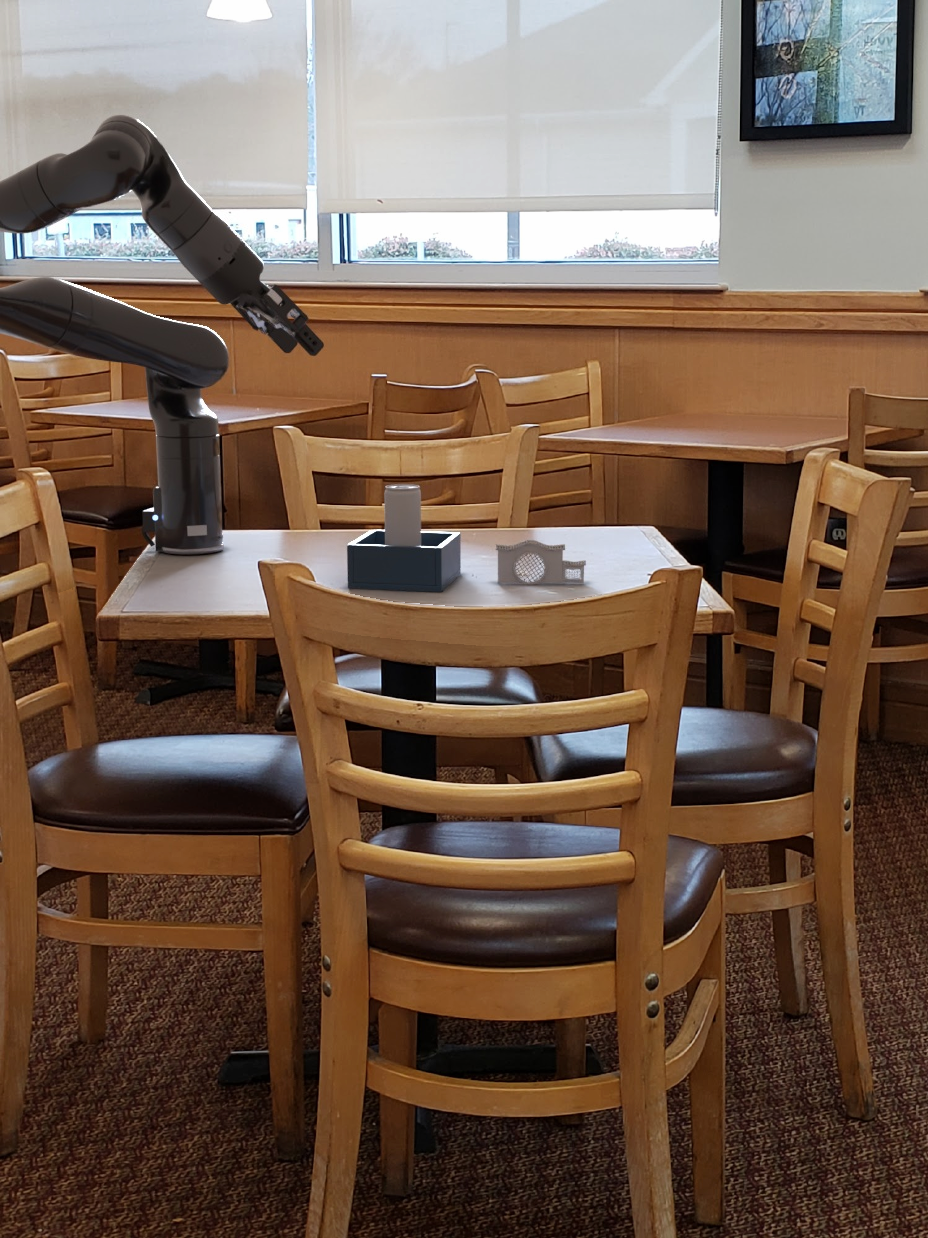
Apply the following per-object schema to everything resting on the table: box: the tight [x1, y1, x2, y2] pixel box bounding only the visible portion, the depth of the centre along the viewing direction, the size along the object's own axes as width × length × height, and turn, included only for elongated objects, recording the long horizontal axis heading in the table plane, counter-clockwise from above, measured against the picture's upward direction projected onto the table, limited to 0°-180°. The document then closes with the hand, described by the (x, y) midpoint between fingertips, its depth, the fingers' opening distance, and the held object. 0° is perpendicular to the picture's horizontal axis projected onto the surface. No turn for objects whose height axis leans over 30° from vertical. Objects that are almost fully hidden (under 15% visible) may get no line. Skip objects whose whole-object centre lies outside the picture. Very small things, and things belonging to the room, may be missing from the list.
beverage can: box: [384, 483, 422, 546], centre depth 196 cm, size 5×5×12 cm
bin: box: [346, 529, 462, 593], centre depth 196 cm, size 13×13×6 cm
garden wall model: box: [495, 539, 587, 586], centre depth 195 cm, size 12×2×6 cm, turn 90°
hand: (305, 349), depth 189 cm, fingers open, 8 cm apart
